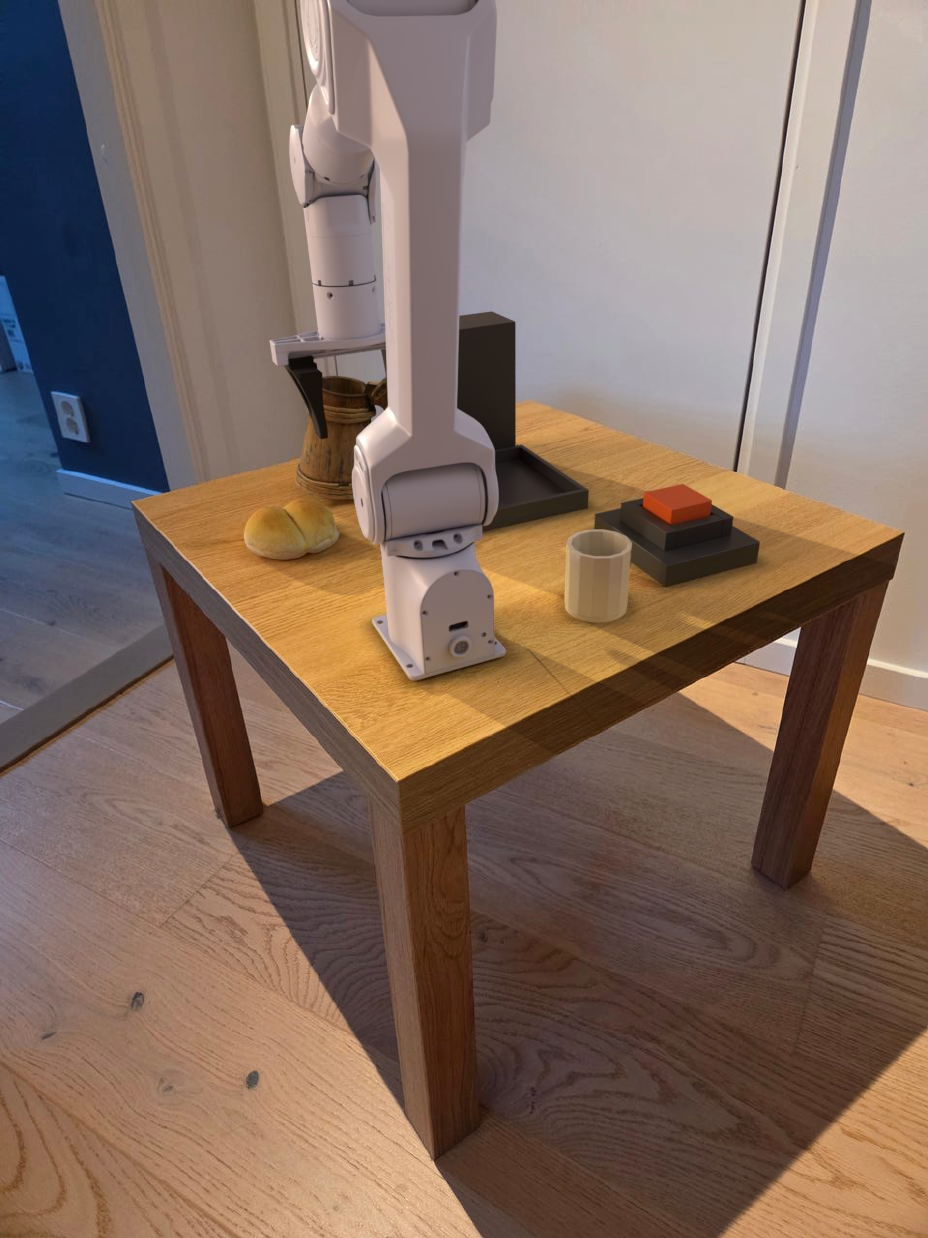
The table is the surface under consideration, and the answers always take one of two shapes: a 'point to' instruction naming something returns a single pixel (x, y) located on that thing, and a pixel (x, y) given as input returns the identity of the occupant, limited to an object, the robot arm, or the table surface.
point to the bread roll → (291, 530)
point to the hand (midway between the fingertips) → (359, 429)
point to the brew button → (677, 504)
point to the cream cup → (597, 575)
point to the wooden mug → (338, 436)
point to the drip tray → (532, 489)
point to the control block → (680, 543)
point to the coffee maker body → (488, 374)
